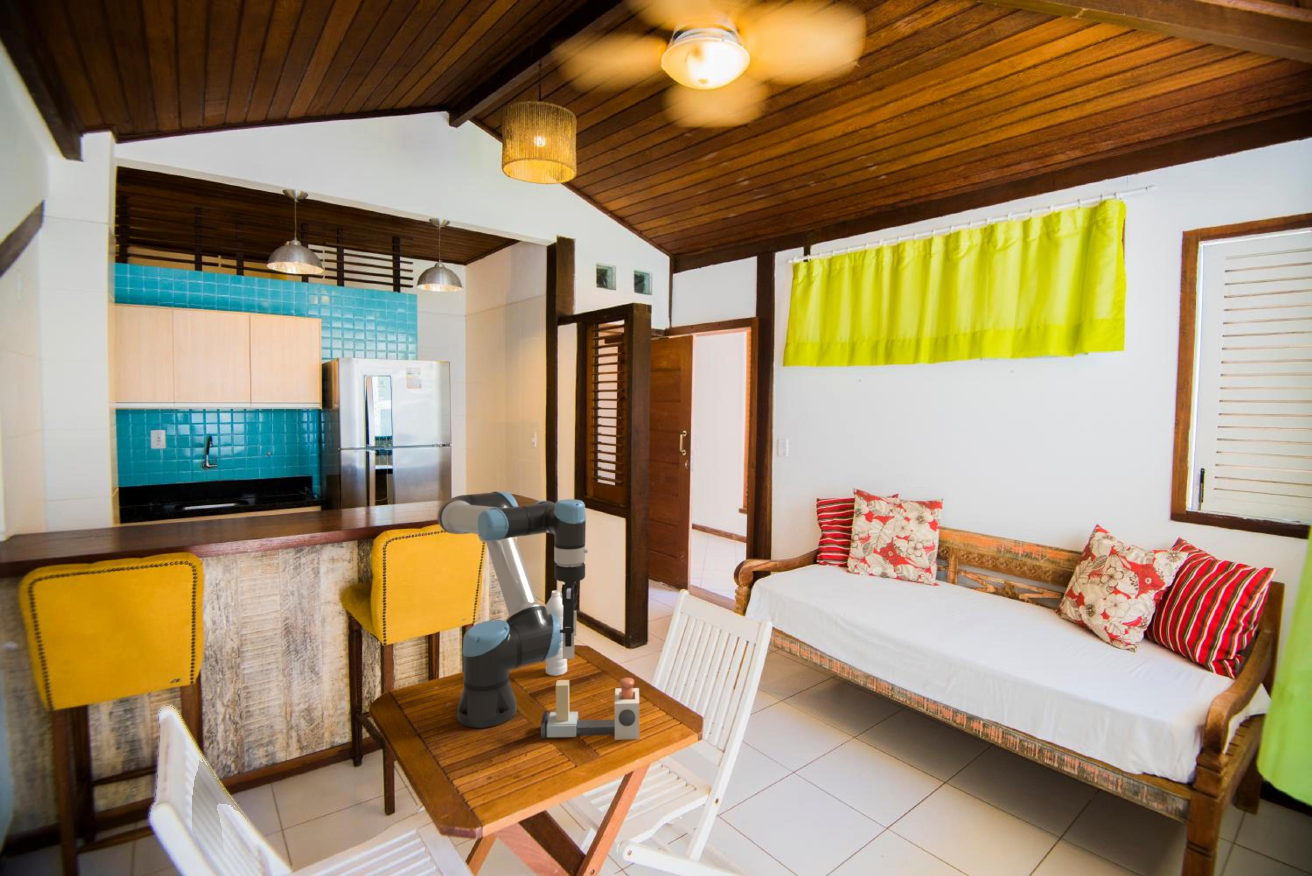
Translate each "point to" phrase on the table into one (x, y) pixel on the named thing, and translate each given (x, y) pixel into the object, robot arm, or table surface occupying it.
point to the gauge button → (626, 688)
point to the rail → (584, 727)
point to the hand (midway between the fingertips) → (569, 646)
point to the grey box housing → (626, 716)
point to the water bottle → (557, 662)
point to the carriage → (562, 714)
